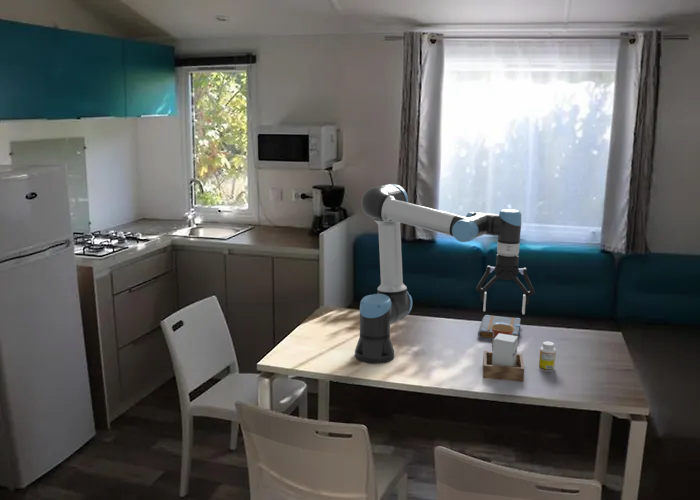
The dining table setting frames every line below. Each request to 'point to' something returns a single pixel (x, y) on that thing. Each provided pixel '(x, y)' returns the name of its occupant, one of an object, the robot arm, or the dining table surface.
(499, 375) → the tray
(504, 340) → the supplement box
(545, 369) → the supplement bottle
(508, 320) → the book
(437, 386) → the dining table surface
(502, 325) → the mug
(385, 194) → the robot arm
